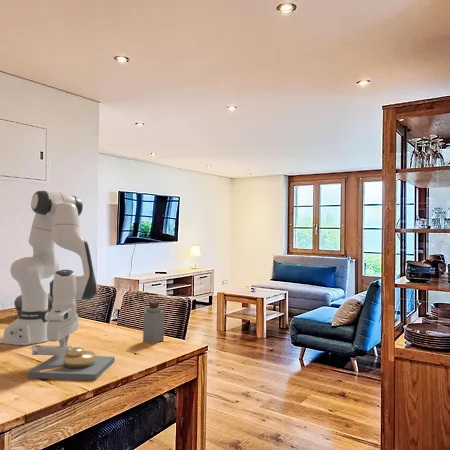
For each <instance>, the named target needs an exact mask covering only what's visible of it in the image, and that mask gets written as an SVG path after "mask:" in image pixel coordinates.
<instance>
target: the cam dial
mask: <svg viewBox="0 0 450 450" xmlns="http://www.w3.org/2000/svg"><path fill="white" fill-rule="evenodd" d="M31 355H32V356H54V355H57V356H64V359H63V365H64V367H67V368H84V367H88V366H91V365H93V364H94V363H95V356H96V354H95V352H94V351H91V350H84V348H83V347H79V346H75V347H72V345H71V346H69V345H67V346H60V345H39V344H36V345H35V344H34V345H33V346H31Z"/></svg>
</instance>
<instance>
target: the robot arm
mask: <svg viewBox="0 0 450 450" xmlns="http://www.w3.org/2000/svg"><path fill="white" fill-rule="evenodd" d="M83 205H84V204H83V202H82V199H80V198H79V197H78V196H76V195H70V194H66V193H61V192H54V191H47V190H37V191H35V193H33V195H32V197H31V201H30V207H31V210H32V211H33V212H34V213H35V214H34V216H33V219H32V220H33V221H32V224H31V228H30V233H29V237H28V244H29V246H31V248H32V253H33V254H32V256H27V257H26V256H25V257H21V258H19V259H16V260H14V261H13V262H12V263H11V265H10V272H9V273H10V275H11V278H13V280H15V281H16V282H17V283H18V285H19V288H20V292H21V295H22V310H21V311H19V312H18V311H17V312H16V313H15V316H17V319H15V320H14V321H12V322H11V323H10V324H8V325H7V326H6V327H5V328H4V331H3V336H2V337H0V344H7V345H17V346H28V345H32V344H34V345H35V344H39V343H44V342H58V343H59V346H69V345H68V341H69V338H70V335H71V334H72V333H74V332H76V331H78V329H79V327H80V326H79V314H78V312H77V301H78V300H82V301H90V300H92V299H93V298H95V297H96V295H97V294H98V289H99V288H98V281H97V280H96V275H95V271H94V267H93V260H92V256H91V251H90V246H89V243H88V241H87V239H86V238H84V237H83V235H82V234H81V231H80V219H79V218H80V217H79V216H80V215H81V214H82V211H83ZM55 244H56V245H57V246H58V247H60V248H62V249H64V250H68V251H70V252H73V253H74V254H77V255H78V256H79V257H80V260H81V264H82V271H83V275H81V276H80V275H79V276H76V272H75V271H74V270H71V269H60V263H59V260H58V259H57V258H56V255H55V254H56V253H55ZM50 277H53V278H52V280H51V281H50V282H49V292H48V290H47V289H45V288H44V286H43V283H42V280H44V279H49V278H50ZM48 293H50V296H51V297H52V298H53V303H52V309H51V311H50V312H49V309H48Z"/></svg>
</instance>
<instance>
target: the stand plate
mask: <svg viewBox="0 0 450 450" xmlns="http://www.w3.org/2000/svg"><path fill="white" fill-rule="evenodd" d="M63 359H64V356H57V355H52V356H51V357H50V358H48V359H46V360H45V361H43V362H42V363H40V364H39V365H37V366H36V367H34V368H32V369H30V370H29V371H28V372H27V373H28V374H27V378H28V379H46V380H47V379H50V380H52V379H53V380H76V381H77V380H78V381H79V380H80V381H96V380H98V378H100V376H101V375H103V374H104V373H103V372H104V371H105V370H106V369H107V370H108V369H109V368H110V367H111V365H113V363H115V356H107V355H106V356H103V355H102V356H101V355H95V363H94V364H93V365H91V366H88V367H84V368H67V367H64V365H63ZM107 370H106V371H107ZM106 371H105V372H106Z"/></svg>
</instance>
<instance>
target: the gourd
mask: <svg viewBox="0 0 450 450" xmlns="http://www.w3.org/2000/svg"><path fill="white" fill-rule="evenodd" d="M52 303H53V298H52V297H51V296H50V292H48V309H49V312H50V311H51V309H52ZM13 304H14V307H15V309H16V311H17V312H19V311H21V310H22V294H20V295H18V296H17V297H16V298H15V300H14V303H13Z"/></svg>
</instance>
